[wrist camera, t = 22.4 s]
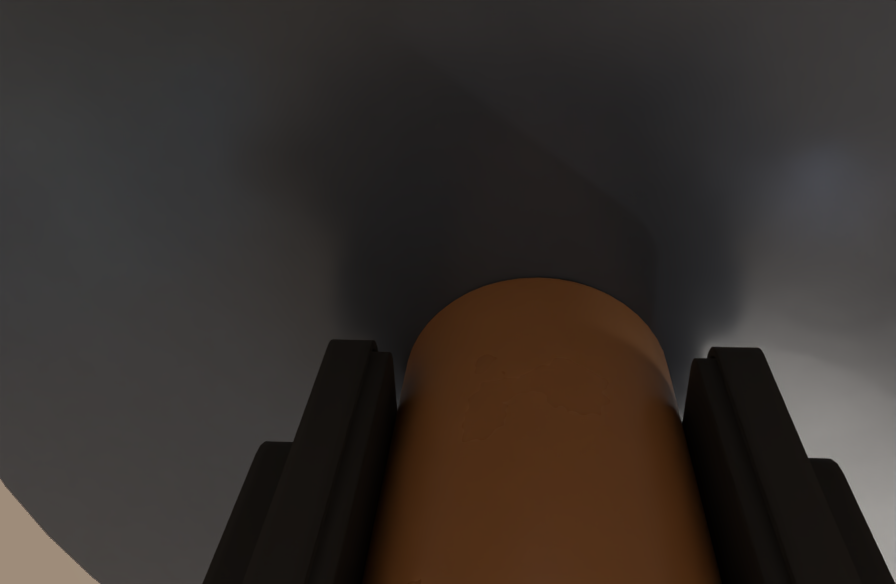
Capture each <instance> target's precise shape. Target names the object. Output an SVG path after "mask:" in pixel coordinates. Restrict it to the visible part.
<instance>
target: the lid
mask: <svg viewBox="0 0 896 584" xmlns="http://www.w3.org/2000/svg"><path fill="white" fill-rule="evenodd" d="M332 339H345V340H375V342H376V344H377V348H378V352H391V353H392V356H393V365H394V377H395V389H396V401H397V415H396V420H395V425H394V430H393V435H392V440H391V444H390V449H389V454H388V459H387V464H386V468H385V473H384V478H383V483H382V488H381V493H380V497H379V502H378V507H377V512H376V517H375V521H374V526H373V531H372V536H371V541H370V546H369V550H368V555H367V560H366V565H365V570H364V574H363V579H362V584H722V581H721V577H720V573H719V569H718V565H717V561H716V557H715V553H714V549H713V545H712V541H711V537H710V533H709V529H708V525H707V521H706V517H705V513H704V509H703V505H702V501H701V497H700V493H699V489H698V485H697V481H696V477H695V473H694V469H693V465H692V461H691V457H690V453H689V449H688V445H687V441H686V437H685V433H684V429H683V425H682V421H683V415H684V408H685V401H686V395H687V388H688V382H689V375H690V368H691V364H692V361H693V359H694V358H707V355H708V352H709V350H710V348H711V347H758V348H760V349H761V350H762V352H763V353H764V355H765V358H766V360H767V362H768V365H769V367H770V369H771V372H772V374H773V376H774V379H775V381H776V383H777V386H778V388H779V390H780V393H781V395H782V397H783V400H784V402H785V404H786V407H787V409H788V412H789V414H790V416H791V419H792V421H793V423H794V426H795V428H796V430H797V433H798V435H799V437H800V440H801V442H802V444H803V447H804V449H805V451H806V454H807V456H808V458H831V459H832V460H833V461H835V462H836V463H838V465H839V467H840V468H841V470H842V472H843V473H844V475H845V477H846V479H847V482H848V484H849V486H850V488H851V490H852V492H853V494H854V496H855V499H856V501H857V503H858V505H859V507H860V509H861V511H862V513H863V516H864V518H865V520H866V522H867V524H868V526H869V528H870V531H871V533H872V535H873V537H874V539H875V541H876V543H877V545H878V548H879V550H880V552H881V554H882V556H883V558H884V560H885V562H886V565H887V567H888V569H889V571H890V573H891V575H892V577H893V580H894V582H895V584H896V0H0V479H1V480H2V482H3V484H4V485H5V487H6V488H7V489H8V490H9V491H10V492H11V493H12V495H13V496H14V497H15V498H16V499H17V500H18V502H19V503H20V504H21V505H22V506H23V507H24V509H25V510H26V511H27V512H28V513H29V514H30V516H31V517H32V518H33V519H34V520H35V521H36V523H38V525H39V526H40V527H41V528H42V529H43V531H44V532H45V533H46V534H47V535H48V536H49V537H50V538H51V539H52V540H53V541H54V542H56V544H57V545H58V546H60V547H61V548H62V549H63V550H64V551H65V552H66V553H67V554H68V555H69V556H70V557H71V558H72V559H73V560H75V562H76V563H77V564H79V565H80V566H81V567H82V568H83V569H84V570H85V571H86V572H87V573H88V574H89V575H90V576H91V577H92V578H94V579H95V580H96V581H98V582H99V583H100V584H202V583H203V581H204V578H205V576H206V574H207V571H208V569H209V566H210V564H211V561H212V559H213V556H214V554H215V552H216V549H217V547H218V544H219V542H220V539H221V537H222V535H223V532H224V530H225V527H226V525H227V522H228V520H229V517H230V515H231V513H232V510H233V508H234V505H235V503H236V500H237V498H238V496H239V493H240V491H241V488H242V486H243V483H244V481H245V478H246V476H247V474H248V471H249V469H250V466H251V464H252V461H253V459H254V457H255V454H256V452H257V451H258V449H259V447H260V445H261V444H263V443H264V442H265V441H277V442H293V441H294V438H295V435H296V432H297V430H298V427H299V424H300V421H301V418H302V416H303V413H304V410H305V407H306V404H307V402H308V399H309V396H310V393H311V391H312V388H313V385H314V382H315V379H316V377H317V374H318V371H319V368H320V366H321V363H322V360H323V357H324V354H325V352H326V349H327V346H328V344H329V342H330V340H332Z"/></svg>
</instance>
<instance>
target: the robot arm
mask: <svg viewBox="0 0 896 584" xmlns="http://www.w3.org/2000/svg"><path fill="white" fill-rule="evenodd" d="M396 415H397V401H396V389H395V377H394V365H393V356H392V353H391V352H378V348H377V344H376V342H375V340H345V339H332V340H330V342H329V344H328V346H327V349H326V352H325V354H324V357H323V360H322V363H321V366H320V368H319V371H318V374H317V377H316V379H315V382H314V385H313V388H312V391H311V393H310V396H309V399H308V402H307V404H306V407H305V410H304V413H303V416H302V418H301V421H300V424H299V427H298V430H297V432H296V435H295V438H294V441H293V442H277V441H265V442H264V443H263V444H261V445H260V447H259V449H258V451H257V452H256V454H255V457H254V459H253V461H252V464H251V466H250V469H249V471H248V474H247V476H246V478H245V481H244V483H243V486H242V488H241V491H240V493H239V496H238V498H237V500H236V503H235V505H234V508H233V510H232V513H231V515H230V517H229V520H228V522H227V525H226V527H225V530H224V532H223V535H222V537H221V539H220V542H219V544H218V547H217V549H216V552H215V554H214V556H213V559H212V561H211V564H210V566H209V569H208V571H207V574H206V576H205V578H204V581H203V583H202V584H362V579H363V574H364V570H365V565H366V560H367V555H368V550H369V546H370V541H371V536H372V531H373V526H374V521H375V517H376V512H377V507H378V502H379V497H380V493H381V488H382V483H383V478H384V473H385V468H386V464H387V459H388V454H389V449H390V444H391V440H392V435H393V430H394V425H395V420H396ZM682 425H683V429H684V433H685V437H686V441H687V445H688V449H689V453H690V457H691V461H692V465H693V469H694V473H695V477H696V481H697V485H698V489H699V493H700V497H701V501H702V505H703V509H704V513H705V517H706V521H707V525H708V529H709V533H710V537H711V541H712V545H713V549H714V553H715V557H716V561H717V565H718V569H719V573H720V577H721V581H722V584H895V582H894V580H893V577H892V575H891V573H890V571H889V569H888V567H887V565H886V562H885V560H884V558H883V556H882V554H881V552H880V550H879V548H878V545H877V543H876V541H875V539H874V537H873V535H872V533H871V531H870V528H869V526H868V524H867V522H866V520H865V518H864V516H863V513H862V511H861V509H860V507H859V505H858V503H857V501H856V499H855V496H854V494H853V492H852V490H851V488H850V486H849V484H848V482H847V479H846V477H845V475H844V473H843V472H842V470H841V468H840V467H839V465H838V463H836V462H835V461H833V460H832V459H831V458H808V456H807V454H806V451H805V449H804V447H803V444H802V442H801V440H800V437H799V435H798V433H797V430H796V428H795V426H794V423H793V421H792V419H791V416H790V414H789V412H788V409H787V407H786V404H785V402H784V400H783V397H782V395H781V393H780V390H779V388H778V386H777V383H776V381H775V379H774V376H773V374H772V372H771V369H770V367H769V365H768V362H767V360H766V358H765V355H764V353H763V352H762V350H761V349H760V348H758V347H711V348H710V350H709V352H708V355H707V358H694V359H693V361H692V364H691V368H690V375H689V382H688V388H687V395H686V401H685V408H684V415H683V421H682Z"/></svg>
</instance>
